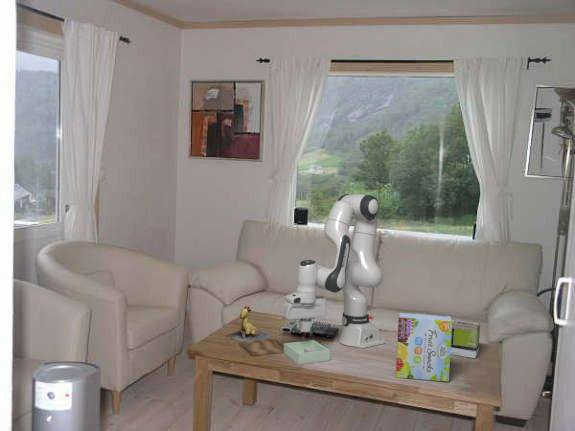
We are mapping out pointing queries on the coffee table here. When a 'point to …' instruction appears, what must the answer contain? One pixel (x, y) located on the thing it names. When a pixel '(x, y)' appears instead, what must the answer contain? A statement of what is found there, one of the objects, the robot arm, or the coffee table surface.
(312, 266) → the robot arm
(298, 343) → the green bin
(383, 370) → the coffee table surface
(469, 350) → the tea box
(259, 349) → the walnut tray
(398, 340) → the snack box
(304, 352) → the stone cube
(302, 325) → the stone cube
